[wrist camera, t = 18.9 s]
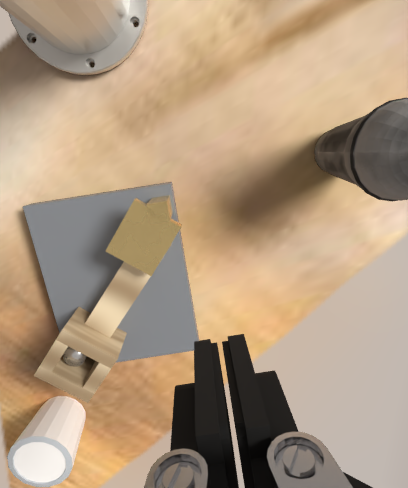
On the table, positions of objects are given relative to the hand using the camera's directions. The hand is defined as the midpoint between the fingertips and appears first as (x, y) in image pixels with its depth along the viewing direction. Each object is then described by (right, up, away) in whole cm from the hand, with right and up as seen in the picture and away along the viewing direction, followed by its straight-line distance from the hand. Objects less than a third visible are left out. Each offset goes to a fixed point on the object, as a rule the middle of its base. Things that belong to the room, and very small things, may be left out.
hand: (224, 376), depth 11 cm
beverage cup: (+13, +14, +25) cm, 32 cm away
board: (-10, +1, +28) cm, 29 cm away
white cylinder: (-18, -17, +32) cm, 41 cm away
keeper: (-7, +6, +26) cm, 28 cm away
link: (-10, -2, +26) cm, 28 cm away
